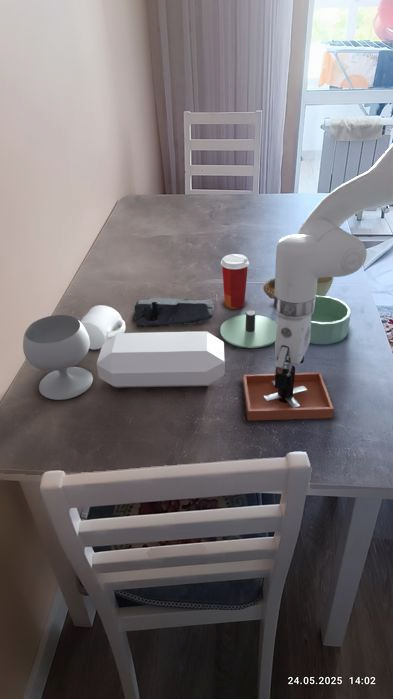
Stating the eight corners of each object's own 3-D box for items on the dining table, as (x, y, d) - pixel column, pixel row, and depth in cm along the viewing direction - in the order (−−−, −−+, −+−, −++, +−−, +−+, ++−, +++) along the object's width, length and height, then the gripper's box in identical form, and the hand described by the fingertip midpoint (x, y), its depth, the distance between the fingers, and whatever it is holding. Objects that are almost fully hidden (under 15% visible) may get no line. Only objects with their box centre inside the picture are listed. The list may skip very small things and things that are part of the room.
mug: (75, 347, 123) (69, 320, 119) (91, 328, 131) (86, 302, 126) (119, 352, 120) (114, 325, 116) (132, 333, 128) (128, 306, 123)
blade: (303, 383, 107) (306, 354, 102) (311, 412, 99) (315, 381, 94) (260, 384, 107) (261, 355, 103) (265, 413, 99) (267, 383, 95)
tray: (319, 381, 108) (320, 372, 107) (332, 418, 98) (333, 408, 97) (242, 383, 108) (243, 374, 107) (247, 420, 98) (248, 411, 97)
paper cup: (251, 300, 140) (253, 255, 132) (242, 312, 135) (243, 266, 127) (226, 295, 143) (226, 251, 135) (216, 307, 138) (215, 262, 130)
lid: (275, 317, 132) (277, 297, 129) (284, 349, 119) (286, 328, 116) (218, 319, 132) (218, 299, 129) (221, 351, 119) (221, 330, 116)
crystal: (224, 359, 100) (91, 362, 101) (225, 395, 105) (98, 397, 106) (223, 323, 112) (103, 325, 113) (223, 357, 117) (109, 359, 118)
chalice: (29, 406, 105) (12, 349, 96) (41, 368, 116) (26, 314, 108) (94, 401, 105) (82, 344, 97) (99, 363, 117) (89, 309, 108)
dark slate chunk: (213, 329, 128) (212, 313, 125) (131, 328, 130) (129, 313, 127) (215, 301, 141) (215, 286, 138) (140, 301, 142) (139, 287, 140)
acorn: (290, 299, 140) (293, 267, 134) (292, 313, 133) (295, 280, 128) (262, 298, 141) (263, 267, 135) (262, 313, 134) (264, 280, 128)
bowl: (339, 314, 132) (342, 294, 129) (354, 343, 120) (357, 322, 117) (286, 315, 132) (287, 296, 129) (295, 345, 120) (297, 324, 117)
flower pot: (293, 290, 145) (295, 268, 141) (327, 289, 144) (330, 267, 140) (297, 306, 136) (300, 283, 132) (333, 306, 136) (336, 283, 132)
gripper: (302, 329, 82) (296, 405, 92) (325, 284, 95) (317, 355, 105) (260, 321, 85) (258, 395, 95) (287, 279, 98) (283, 348, 107)
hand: (289, 374), depth 100 cm, fingers open, 9 cm apart
